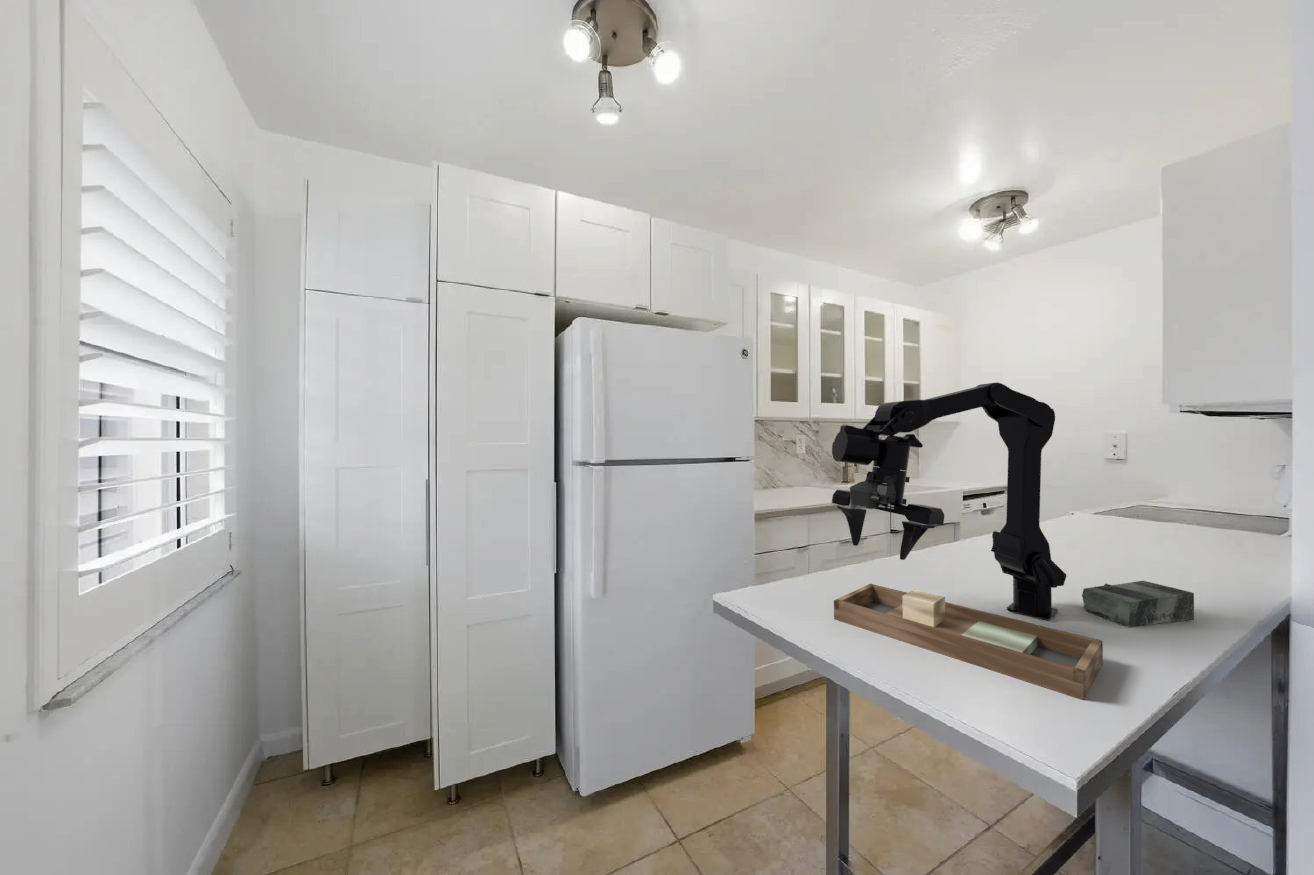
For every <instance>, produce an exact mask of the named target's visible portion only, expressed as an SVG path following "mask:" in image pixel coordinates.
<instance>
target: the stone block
mask: <svg viewBox="0 0 1314 875" xmlns="http://www.w3.org/2000/svg"><path fill="white" fill-rule="evenodd" d="M1081 598H1082V601H1083V608H1084V611H1086V612H1088V613H1091V614H1093V615H1095V616H1097V617H1101V618H1104V619H1105V620H1109V621H1111V622H1112V623H1115V624H1118V625H1121V626H1125V627H1126V628H1139V627H1146V626H1152V625H1157V624H1162V623H1172V624H1173V623H1178V622H1179V623H1180V622H1182V621H1187V622H1189V621H1194V620H1195V593H1194V592H1192V591H1188V590H1184V589H1180V588H1176V587H1172V586H1167V585H1164V584H1159V583H1156V582H1155V583H1154V582H1150V581H1146V580H1138V581H1131V582H1126V583H1125V582H1124V583H1118V584H1117V583H1116V584H1108V583H1104V585H1100V586H1093V587H1092V586H1091V587H1087V588H1085V587H1084V588H1083V590H1082V595H1081Z"/></svg>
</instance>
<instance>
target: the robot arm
mask: <svg viewBox="0 0 1314 875" xmlns="http://www.w3.org/2000/svg"><path fill="white" fill-rule="evenodd" d="M979 408H982V409H983V411H984V413H985V414H986V416H988V418H990V419H992V420H993V421H994V422H996V423H997V425H998V426H997V427H998V432H999V436H1000V438H1001V439H1002V442H1003V443H1004V444H1005V446H1006V448H1007V452H1008V453H1007V484H1006V486H1007V487H1006V489H1007V490H1006V491H1007V492H1006V522H1005V525H1004V526H1003V527H1002V529H1001V530H1000V531H996V530H993V532H992V534H991V535H992V536H991V537H992V546H991V549H990V552H992V553H993V554H994V555H993V556H994V559H995V561H997V563H998V564H999V566H1000V568H1001V571H1002V573H1003V574H1004V575H1005V574H1006V575H1009V576H1012V588H1013V589H1012V593H1013V595H1012V597H1013V598H1012V600H1013V601H1012V602H1011V603H1010V604H1009V605H1008V606H1007V607H1006V610H1007V611H1009V612H1013V613H1016V614H1021V615H1025V616H1029V617H1033V618H1036V619H1037V618H1038V619H1042V620H1046V621H1051V619H1052V618H1054V616H1055V615H1056V614H1057V613H1058V610H1059V609H1058V608H1054V607H1052V606H1053V605H1052V602H1053V601H1052V597H1053V595H1052V594H1053V592H1052V589H1056V588H1057V587H1063V586H1064V585H1065V582H1066V578H1067V574H1066V572H1064V571H1063V570H1062V569H1061V568H1060V566H1058V565H1057V564H1056V563H1055V562H1054V560H1052V556H1051V549H1050V547H1051V546H1050V543H1049V541H1048V540H1047V537H1046V536H1045V534H1044V532H1043V531H1042V529H1041V527H1040V526H1041V525H1040V520H1041V519H1040V514H1041V513H1040V512H1041V508H1040V507H1041V480H1042V479H1041V476H1042V475H1041V474H1042V472H1041V471H1042V452H1043V450H1044V447H1045V446H1046V445H1047V443H1048V442H1049V441H1050V439H1051V438H1052V437H1053V432H1054V427H1055V423H1056V413H1055V410H1054V408H1051V406H1050V405H1049V404H1047V403H1045V402H1044V401H1043V402H1042V401H1039V400H1037V399H1035V398H1034V397H1032V396H1030V395H1027V394H1024V393H1021V392H1019V391H1016V390H1014V389H1012V388H1010V387H1009V386H1007V385H1005V384H1004V383H1000V382H991V383H990V382H989V383H982V384H978V385H976V386H974V387H971V388H966V389H962V390H958V391H954V392H950V393H946V394H942V395H938V396H934V397H931V398H925V399H912V400H901V401H891V402H884V403H882V404H880V405H879V406H878V407H877V409H876V411H875V412H874V413H875V414H874V416H873V417H872V418H871V419H870V420H869V421H868V423H866V425H864V427H862V428H861V427H855V426H854V425H849V424H848V425H847V424H846V425H845V424H844V425H841V426H840V429H839V432H837V434H836V436H835V438H834V440H833V442H832V445H831V454H832V458H833V460H834V461H835V462H839V463H846V464H853V465H861V466H869V465H870V464H871V463H872V470H871V471H867V473H866V477H865V479H864V480H863V481H859V482H857V483H854V484H852V485H851V486H849V489H848V490H846V489H845V490H844V489H836V490H835V491H834V493H833V494H832V497H831V504H834V505H837V506H836V509H838V510H840V511H841V512H842V514H844V516H845V518H846V521H847V525H848V529H849V532H850V538H851V542H852V546H855V547H857V546H859V543H860V540H861V536H862V532H863V527H864V524H865V518H866V514H867V509H869V510H877V511H883V512H887V513H892V514H896V515H901V516H904V517H905V518H906V520H907V521H903V520H902V521H901V525H902V528H903V533H902V539H901V544H900V550H899V551H900V552H899V559H900V561H905V560H906V559H907V557H908V555H910V553H911V552H912V550H913V549H914V547H915V545H916V544H917V542H918V541H920V538H921V537H922V536H924V534H925V533H926V532H927V531H928V529H935V526H943V525H944V521H945V514H944V513H945V512H944V511H943V509H942V508H941V507H935V506H930V505H925V504H916V503H908V504H907V498H904V495H905V494H904V493H905V487H906V483H910V480H911V478H910V476H907V473H908V465H909V458H910V451H911V448H919V449H920V448H923V447H924V445H923V443H922V442H921V441H920V440H919V439H918V438H917V437H916V434H912V433H911V432H913V431H916V430H918V429H921V428H922V427H925V426H927V425H928V424H929V423H930V422H932V421H934V420H936V419H939V418H943V417H947V416H950V415H954V414H959V413H963V412H966V411H971V410H975V409H979ZM899 433H900V434H901V433H902V434H903V433H906V434H905V435H904V436H899V435H897V434H899ZM880 436H883V437H885V436H886V437H885V438H884V439H882V438H879V437H880ZM861 507H862V508H861ZM863 507H864V508H863Z"/></svg>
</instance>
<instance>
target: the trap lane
mask: <svg viewBox="0 0 1314 875" xmlns="http://www.w3.org/2000/svg"><path fill="white" fill-rule="evenodd" d="M907 593H908V592H907V591H906V592H905V591H902V590H898V589H893V588H890V587H887V586H880V585H878V584H877V585H876V584H873V583H869V584H866V585H864V586H862V587H860V588H858V589H855V590H854V591H852V592H849V593H847V594H845V595H842V596H841V597H839V598H836V599H834V600H833V620H836V621H838V622H842V623H845V624H847V625H851V626H855V627H858V628H861V629H864V630H867V631H870V632H873V633H876V634H879V635H882V636H885V637H889V638H892V639H895V640H898V641H901V642H903V643H907V644H910V645H912V646H913V645H914V646H917V647H919V648H923V649H926V650H929V651H931V652H934V653H937V654H940V655H944V656H947V657H950V658H953V659H956V660H960V661H963V662H966V663H969V664H971V665H975V666H978V667H981V668H984V669H987V670H991V671H993V672H996V673H1000V674H1002V675H1005V676H1008V677H1012V678H1014V679H1018V680H1021V681H1024V682H1028V683H1030V684H1033V685H1036V686H1040V687H1043V688H1046V689H1049V690H1051V691H1055V692H1058V693H1060V694H1064V695H1066V696H1070V697H1074V698H1076V699H1079V700H1085V697H1086V696H1087V694H1088V692H1089V690H1090V688H1091V686H1093V683H1094V681H1095V680H1096V677H1097V675H1098V673H1099V672H1100V670H1101V668H1102V667H1103V663H1104V662H1103V659H1104V658H1103V656H1104V653H1103V652H1104V651H1103V648H1104V645H1103V643H1104V642H1103V641H1104V640H1101V639H1097V638H1095V637H1089V636H1085V635H1081V634H1077V633H1074V632H1073V633H1072V632H1069V631H1064V630H1062V629H1056V628H1054V627H1053V628H1052V627H1050V626H1045V625H1040V624H1036V623H1032V622H1028V621H1023V620H1020V619H1015V618H1012V617H1006V616H1004V615H999V614H996V613H992V612H987V611H983V610H980V609H979V610H978V609H976V608H971V607H967V606H963V605H959V604H955V603H951V602H947V601H945V620H944V621H942V622H941V623H939V624H938V625H937V626H935V627H932V626H928V625H925V624H921V623H918V622H914V621H911V620H907V619H904V618H903V599H902V596H904V595H905V594H907Z"/></svg>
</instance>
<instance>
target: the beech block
mask: <svg viewBox="0 0 1314 875" xmlns="http://www.w3.org/2000/svg"><path fill="white" fill-rule="evenodd" d="M906 593H907V594H905V595H904V596H902V599H903V618H904V619H907V620H911V621H914V622H918V623H921V624H925V625H928V626H932V627H935V626H937V625H938V624H939V623H941V622H942V621H944V620H945V602H946V596H944V595H939V594H936V593H931V592H927V591H922V590H918V589H913V590H911V591H909V592H906Z"/></svg>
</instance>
